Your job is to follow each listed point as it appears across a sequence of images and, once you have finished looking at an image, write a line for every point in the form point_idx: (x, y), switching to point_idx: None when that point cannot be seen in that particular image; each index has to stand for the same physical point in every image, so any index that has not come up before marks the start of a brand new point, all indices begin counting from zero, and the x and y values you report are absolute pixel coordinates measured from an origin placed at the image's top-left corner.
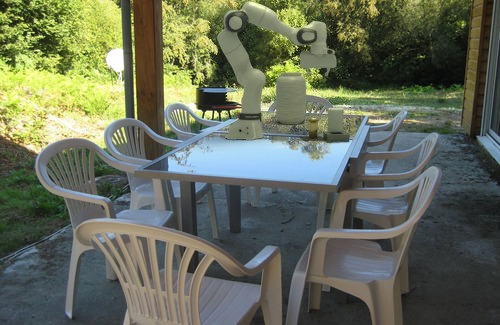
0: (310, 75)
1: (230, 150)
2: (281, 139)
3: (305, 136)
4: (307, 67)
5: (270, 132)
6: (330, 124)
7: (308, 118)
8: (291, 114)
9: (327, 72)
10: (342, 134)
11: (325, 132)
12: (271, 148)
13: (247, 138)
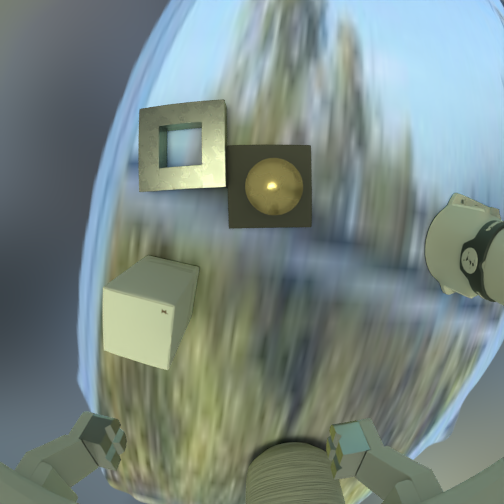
0: (347, 427)
1: (480, 74)
2: (381, 187)
3: (292, 222)
4: (454, 494)
5: (390, 325)
6: (180, 276)
7: (301, 178)
8: (299, 457)
9: (70, 441)
10: (162, 114)
11: (220, 161)
12: (407, 58)
13: (467, 197)
